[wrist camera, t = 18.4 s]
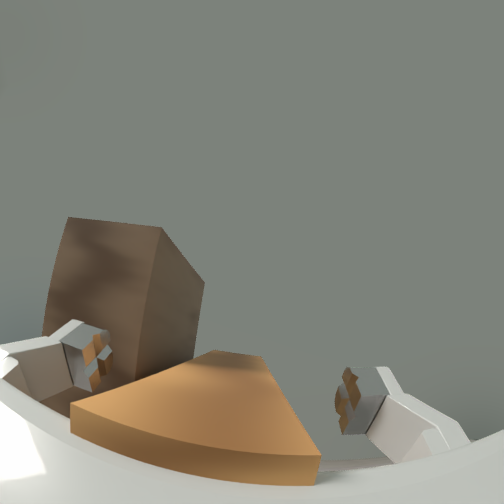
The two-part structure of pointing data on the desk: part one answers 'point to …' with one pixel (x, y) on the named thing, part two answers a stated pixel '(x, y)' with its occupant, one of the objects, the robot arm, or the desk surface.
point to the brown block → (204, 422)
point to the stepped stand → (124, 299)
